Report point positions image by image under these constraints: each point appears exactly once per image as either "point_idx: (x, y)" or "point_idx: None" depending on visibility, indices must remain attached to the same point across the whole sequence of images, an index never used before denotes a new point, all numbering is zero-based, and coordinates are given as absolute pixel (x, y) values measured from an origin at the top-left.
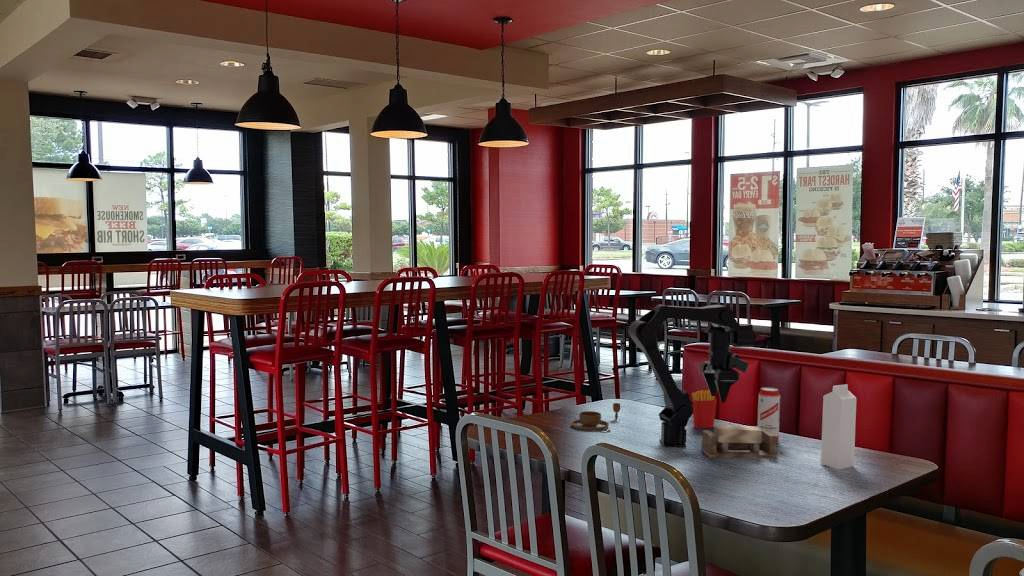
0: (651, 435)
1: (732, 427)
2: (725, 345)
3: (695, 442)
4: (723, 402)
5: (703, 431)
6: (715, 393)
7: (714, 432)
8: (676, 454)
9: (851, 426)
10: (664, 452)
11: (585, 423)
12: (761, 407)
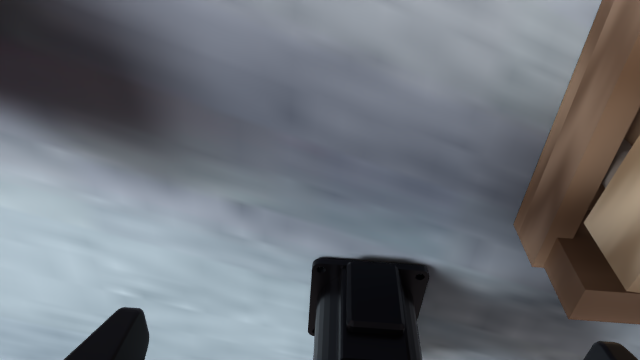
0: (194, 323)
1: None
2: None
3: (341, 196)
4: (604, 355)
5: (584, 316)
6: (125, 343)
7: (602, 250)
8: (539, 329)
9: None
10: (492, 354)
11: None
12: None
